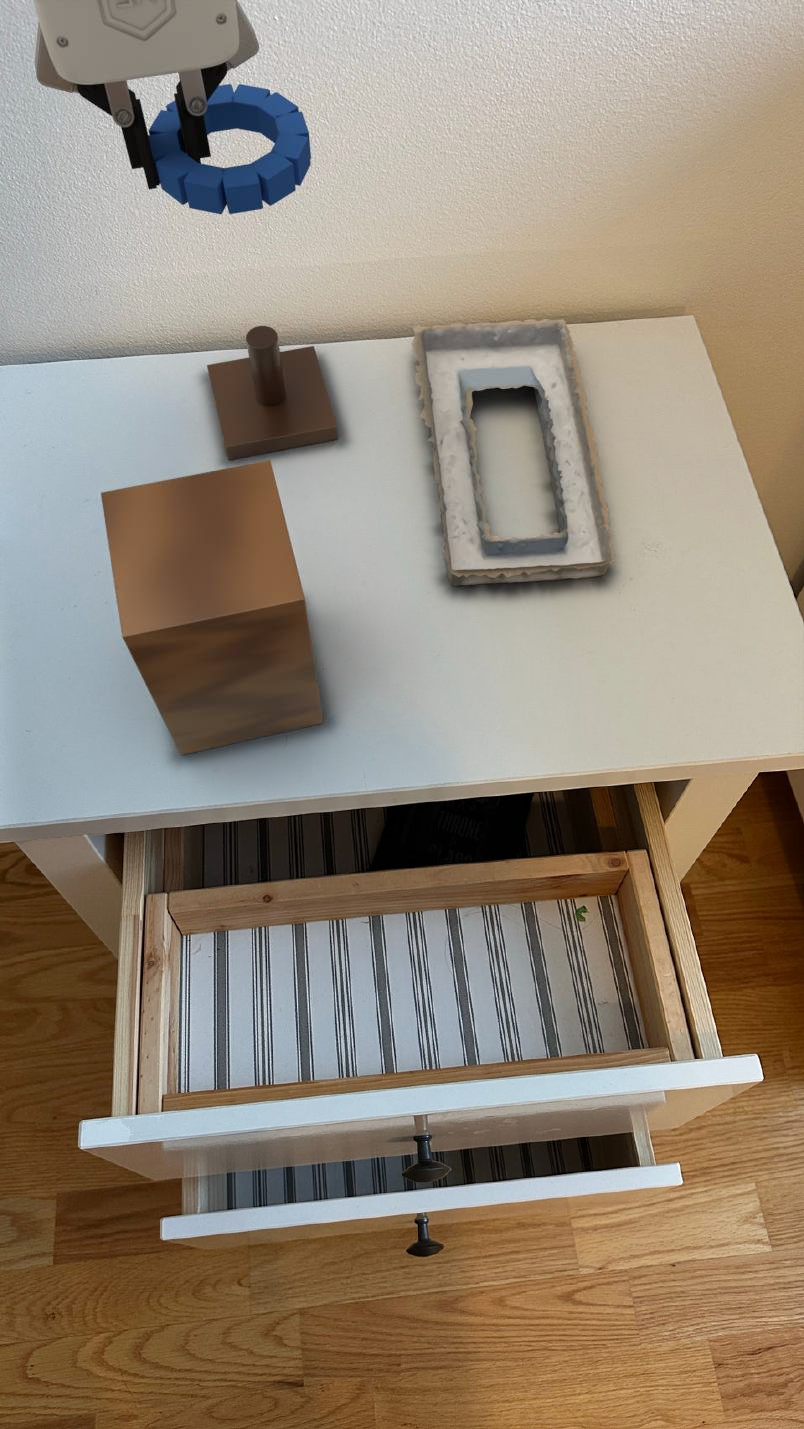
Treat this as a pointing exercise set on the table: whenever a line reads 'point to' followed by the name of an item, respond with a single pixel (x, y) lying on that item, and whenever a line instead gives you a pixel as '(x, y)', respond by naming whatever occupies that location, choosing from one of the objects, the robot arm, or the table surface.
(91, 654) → the table surface
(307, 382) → the post
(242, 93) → the ring
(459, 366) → the picture frame
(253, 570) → the stand
